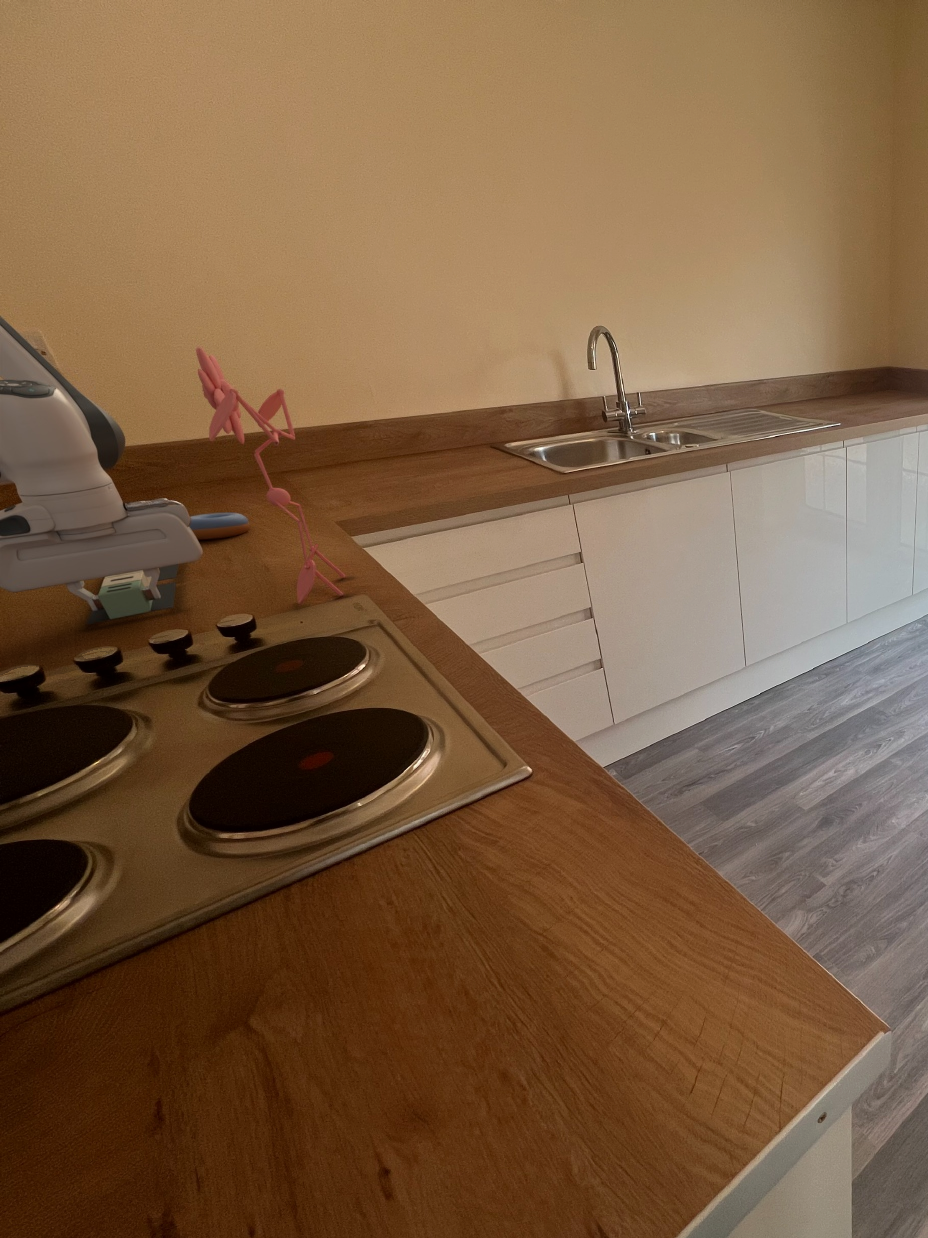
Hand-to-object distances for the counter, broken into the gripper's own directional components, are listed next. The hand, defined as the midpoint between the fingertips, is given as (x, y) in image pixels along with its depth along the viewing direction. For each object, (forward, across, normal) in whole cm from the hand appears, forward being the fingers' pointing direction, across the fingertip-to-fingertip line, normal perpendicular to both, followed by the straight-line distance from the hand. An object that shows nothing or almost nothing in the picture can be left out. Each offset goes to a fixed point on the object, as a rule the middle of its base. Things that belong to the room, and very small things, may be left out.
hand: (127, 603), depth 99 cm
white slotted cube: (+1, 0, -9) cm, 9 cm away
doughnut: (+2, -10, -40) cm, 41 cm away
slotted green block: (+1, 0, 0) cm, 1 cm away
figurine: (+2, -18, +6) cm, 19 cm away
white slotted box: (+1, 0, -5) cm, 5 cm away
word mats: (+2, 0, -14) cm, 14 cm away
